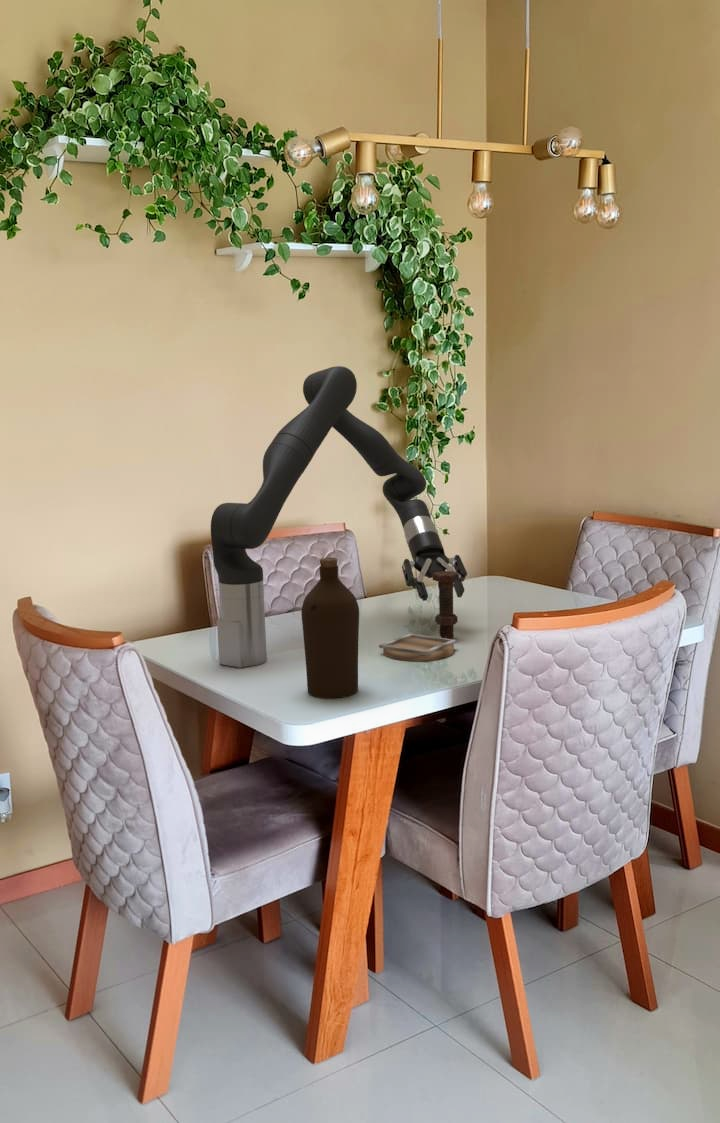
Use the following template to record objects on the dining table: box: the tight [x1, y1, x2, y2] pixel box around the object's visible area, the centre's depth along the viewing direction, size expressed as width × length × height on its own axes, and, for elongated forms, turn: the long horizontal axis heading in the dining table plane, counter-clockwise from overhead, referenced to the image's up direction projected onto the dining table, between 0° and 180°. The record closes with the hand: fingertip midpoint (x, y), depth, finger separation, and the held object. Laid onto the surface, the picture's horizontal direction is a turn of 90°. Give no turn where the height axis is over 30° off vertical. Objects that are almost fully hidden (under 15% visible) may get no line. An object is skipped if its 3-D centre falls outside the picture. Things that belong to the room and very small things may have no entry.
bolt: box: [432, 570, 459, 639], centre depth 220 cm, size 6×5×15 cm
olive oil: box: [300, 557, 360, 699], centre depth 182 cm, size 11×11×25 cm
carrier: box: [378, 633, 458, 662], centre depth 211 cm, size 15×15×2 cm
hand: (443, 597), depth 222 cm, fingers open, 8 cm apart
